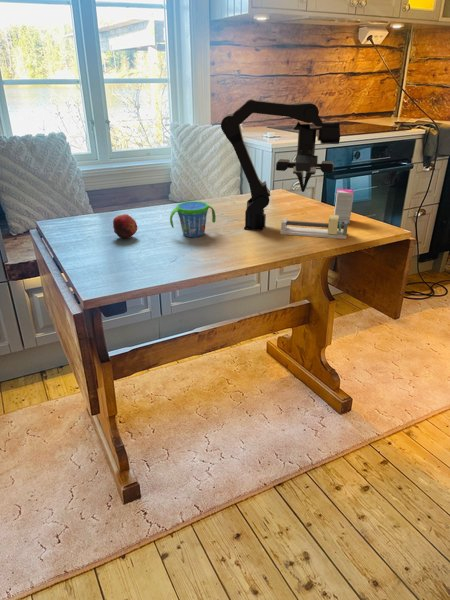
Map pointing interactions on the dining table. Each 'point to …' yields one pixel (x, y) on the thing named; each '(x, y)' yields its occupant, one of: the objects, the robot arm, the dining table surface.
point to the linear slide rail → (313, 231)
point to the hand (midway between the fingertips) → (303, 191)
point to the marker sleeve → (333, 224)
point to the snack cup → (192, 217)
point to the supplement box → (343, 205)
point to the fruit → (124, 226)
